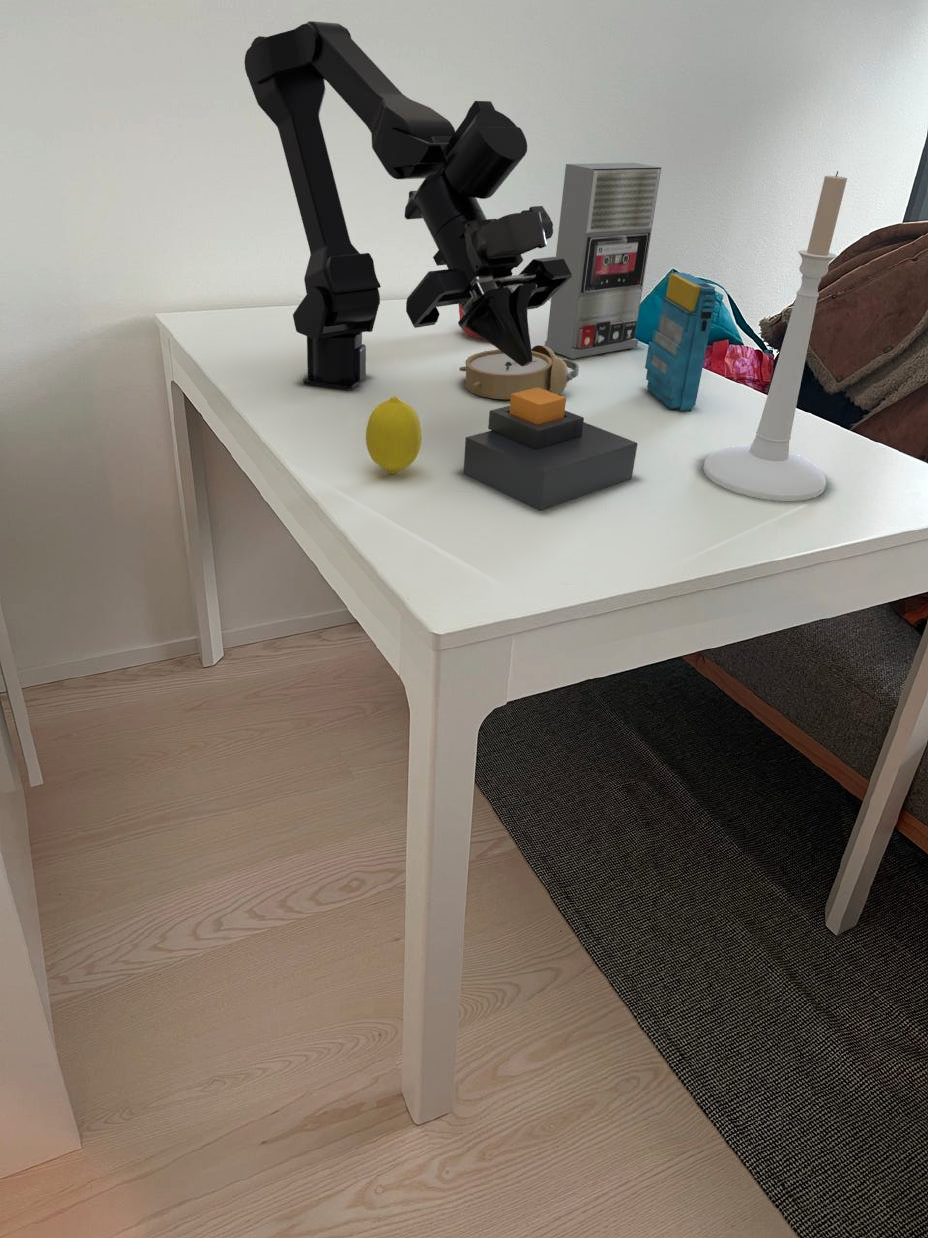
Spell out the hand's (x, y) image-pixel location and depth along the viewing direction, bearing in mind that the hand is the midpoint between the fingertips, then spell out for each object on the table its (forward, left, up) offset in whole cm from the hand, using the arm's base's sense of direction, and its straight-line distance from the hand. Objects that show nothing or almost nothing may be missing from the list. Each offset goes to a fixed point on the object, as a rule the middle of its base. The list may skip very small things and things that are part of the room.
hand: (527, 363), depth 95 cm
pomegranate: (-13, +50, -11) cm, 53 cm away
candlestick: (+26, +6, -11) cm, 29 cm away
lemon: (-12, -8, -11) cm, 18 cm away
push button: (+4, -3, -11) cm, 12 cm away
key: (+2, -1, -5) cm, 5 cm away
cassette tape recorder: (+3, +49, -11) cm, 50 cm away
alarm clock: (-4, +26, -11) cm, 28 cm away
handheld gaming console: (+15, +29, -11) cm, 34 cm away
